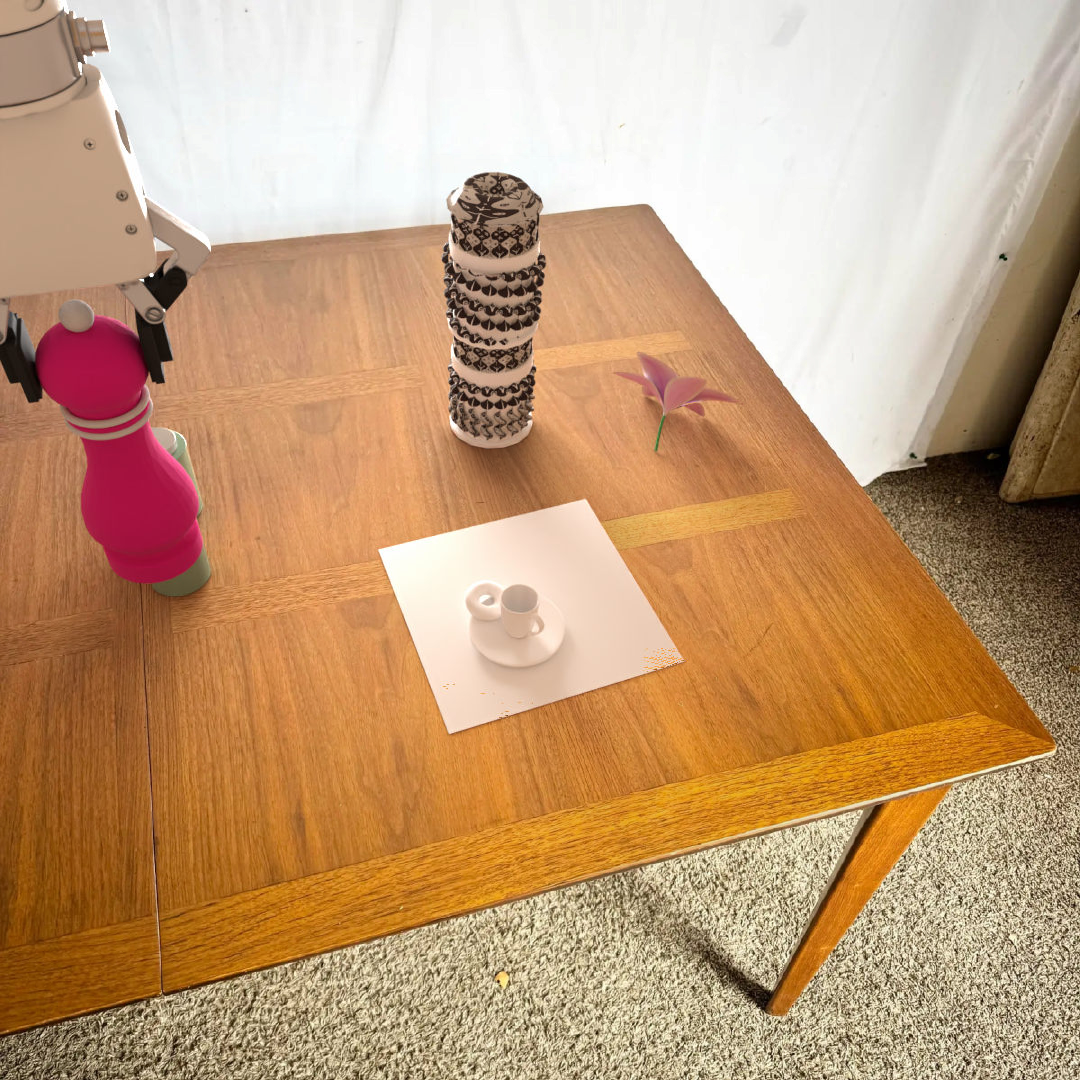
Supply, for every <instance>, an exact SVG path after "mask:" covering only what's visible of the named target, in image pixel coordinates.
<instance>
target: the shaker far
mask: <svg viewBox="0 0 1080 1080" xmlns="http://www.w3.org/2000/svg"><path fill="white" fill-rule="evenodd" d="M151 429H152V432H153V434H154V436H155V438H156V439H157V441H158V442H159V443H160V445H161V446H162V447H163V448H164V449H165V450H166V451H167V452H168V453H169V454H170V455H171V456H172V457H174V458H175V459H176V460H177V461H178V462H179V463H180V464H181V466H182V467H183V468H184V469H185V471H186V472H187V474H188V475H189V476H190V478H191V480H192V482H193V484H194V487H195V489H196V491H197V494H198V498H199V510H198V514H197V517H199V516H200V514H201V512H202V510H203V509H204V502H203V498H202V495H201V491H200V487H199V483H198V480H197V476H196V473H195V469H194V465H193V461H192V458H191V456H190V452H189V448H188V444H187V441H186V439H185V437H184V436H183V435H182V434H180V433H179V432H177V431H175V430H172V429H168V428H166V427H159V426H157V427H156V426H155V427H151Z"/></svg>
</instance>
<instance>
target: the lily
mask: <svg viewBox="0 0 1080 1080" xmlns="http://www.w3.org/2000/svg"><path fill="white" fill-rule="evenodd" d="M636 356H637V359H638V362H639V363H640V367H641V370H642V371H641V372H642V374H643V375H642V374H640V373H635V372H627V371H613V372H612V374H613V375H615V376H618V377H620V378H623V379H626V380H628V381H631V382H633V383H636V384H638V385H639V386H640V385H641V386H642V387H641V394H642V395H643V397H650V398H656V400H657V401H658V403H659V404H660V406H661V408H662V409H663V412H662V415H661V418H660V419H661V420H660V422H659V427H658V429H657V430H658V431H657V436H656V441H655V446H654V452H658V449H659V444H660V440H661V434H662V430H663V426H664V422H665V419H666V417H667V415H668V413H670V412H672V411H675V410H676V409H679V408H682V407H685V408H687V409H689V410H690V411H691V412H694V413H695V414H697V415H698V416H700V417H702V418H704V417H706V412H705V411H706V410H705V408H704V406H703V404H702V403H701V402H711V401H712V402H722V403H730V404H736V405H744V402H742V400H740V399H738V398H736V397H734V396H732V395H730V394H728V393H726V392H723V390H719V389H715V388H712V387H707V386H706V385H707V383H708V381H707V379H705V378H703V377H700V376H699V377H698V376H691V375H690V376H688V375H687V376H686V375H685V376H684V375H683V376H680V374H677V373H678V372H676V371H675V369H673V368H672V367H671V366H670V365H668V364H667V363H665V362H664V361H662V360H660V359H659V358H657V357H654V356H652V355H650V354H647V353H645V352H642V351H637V352H636Z"/></svg>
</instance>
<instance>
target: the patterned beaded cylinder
mask: <svg viewBox="0 0 1080 1080" xmlns="http://www.w3.org/2000/svg"><path fill="white" fill-rule="evenodd" d="M446 207H447V210H448V211H449V212H450V225H451V226H450V230H449V232H448V241H447V242H445V243H443V244H444V245H443V246H442V251H443V253H442V254H441V256H440V258H441V259H440V260H441V262H442V263H443V264H444V266H443V272H444V274H445V275H444V276H443V283H444V285H445V286H446V288H445V289H444V291H443V296H444V297H445V298H446V303H445V304H446V307H447V309H446V311H445V316H446V318H447V326H448V330H449V331H450V333H451V334H452V343H451V346H450V356H451V357H450V358H449V364H448V365H447V370H448V372H449V377H448V379H447V383H448V385H449V386H450V387H449V390H448V393H447V399H448V401H449V405H448V406H447V407H448V412H449V425H450V429H451V431H452V432H453V433H454V434H455V436H456V437H457V438H458V439H459V440H461V441H463V442H465V443H467V444H468V445H470V446H474V447H478V448H483V449H503V448H507V447H510V446H512V445H515V444H519V443H520V442H521V441H523V440H524V439H525V438H526V437H528V436H529V434H530V432H531V430H532V427H533V423H534V422H533V416H532V412H534V411H535V407H534V403H532V402H533V401H534V400H535V399H536V395H535V394H534V387H535V385H536V384H537V383H536V379H535V374H536V373H537V366H536V365H535V351H534V347H533V339H534V337H535V335H536V333H537V330H538V328H539V326H540V325H539V324H540V323H539V320H540V318H541V313H542V308H541V307H540V306H539V305H541V303H542V302H543V299H542V295H543V293H542V291H541V290H540V289H539V288H540V287H542V286H543V285H544V283H545V277H546V274H545V272H544V271H543V270H544V269H545V268H546V266H547V262H546V260H547V259H546V255H545V254H544V253H542V252H541V237H540V234H539V230H540V214H541V212H542V211H543V209H544V203H543V200H542V197H541V196H540V195H539V194H538V193H536V192H535V191H534V190H533V189H532V188H531V186H530V185H529V184H527V183H526V182H525V181H524V180H523V179H522V178H521V177H518V176H516V175H513V174H511V173H506V172H499V171H485V172H481V173H476V174H473V175H472V176H469V177H467V178H466V179H464V180H463V181H462V183H461V184H460V186H458V187H457V188H455V189H453V190H452V191H451V192H450V194H449V195H448V196H447V198H446ZM449 255H450V256H449ZM535 278H536V279H535Z"/></svg>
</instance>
